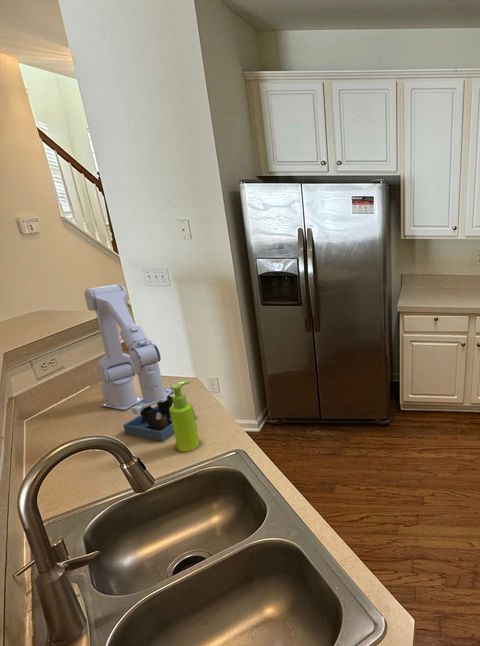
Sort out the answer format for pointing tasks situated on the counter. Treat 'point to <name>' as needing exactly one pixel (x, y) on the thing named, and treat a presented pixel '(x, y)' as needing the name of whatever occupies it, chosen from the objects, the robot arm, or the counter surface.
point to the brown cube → (161, 421)
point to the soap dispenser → (183, 420)
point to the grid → (148, 428)
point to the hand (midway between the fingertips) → (159, 423)
